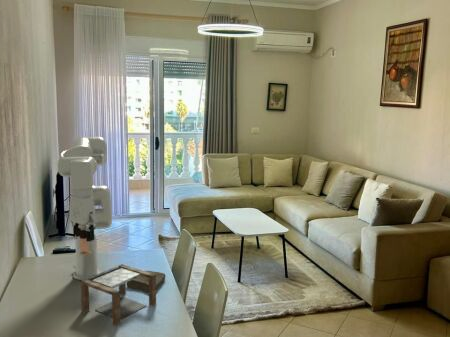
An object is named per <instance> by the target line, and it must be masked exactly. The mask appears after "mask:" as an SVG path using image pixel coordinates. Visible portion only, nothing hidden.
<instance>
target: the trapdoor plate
mask: <svg viewBox="0 0 450 337" xmlns="http://www.w3.org/2000/svg"><path fill="white" fill-rule="evenodd" d="M113 271H114V272H113ZM108 273H109V274H108ZM103 275H104V276H103ZM98 277H99V278H98ZM137 277H140V274H138V273H135V272H132V271H129V270H126V269H122V268H121V269H120V267H118V266H115V267H112V268H109V269H107V270H104V271H101V273H99V274H97V275H94V276H92V277H89V278H88V280H89V281H91V280H92V282H95V283H98V284H101V285H103V286H106V287H109V288H112V289H115V288H117V287H119V286H120V285H122V284H124V283H126V284H127V282H128V281H131V280H133V279H135V278H137ZM93 279H94V280H93Z"/></svg>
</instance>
